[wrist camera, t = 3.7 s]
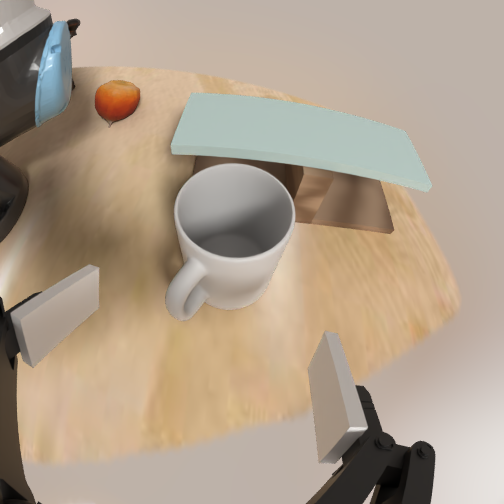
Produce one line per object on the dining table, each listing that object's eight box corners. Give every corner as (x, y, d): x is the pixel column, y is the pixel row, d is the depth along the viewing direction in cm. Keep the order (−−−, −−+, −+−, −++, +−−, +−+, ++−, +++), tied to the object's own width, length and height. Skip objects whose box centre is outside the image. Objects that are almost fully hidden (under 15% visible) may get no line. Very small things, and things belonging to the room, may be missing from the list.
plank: (171, 154, 24) (170, 144, 23) (191, 100, 28) (191, 92, 27) (427, 192, 26) (432, 186, 25) (401, 137, 31) (405, 131, 30)
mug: (219, 221, 30) (222, 146, 21) (284, 262, 29) (316, 197, 19) (149, 304, 25) (111, 254, 15) (219, 357, 24) (220, 339, 14)
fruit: (81, 118, 36) (93, 75, 31) (116, 116, 42) (129, 78, 38) (101, 133, 34) (114, 84, 30) (139, 130, 40) (153, 88, 36)
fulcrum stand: (186, 212, 30) (179, 162, 23) (201, 144, 36) (201, 97, 29) (390, 233, 33) (423, 198, 26) (371, 168, 38) (393, 131, 31)
